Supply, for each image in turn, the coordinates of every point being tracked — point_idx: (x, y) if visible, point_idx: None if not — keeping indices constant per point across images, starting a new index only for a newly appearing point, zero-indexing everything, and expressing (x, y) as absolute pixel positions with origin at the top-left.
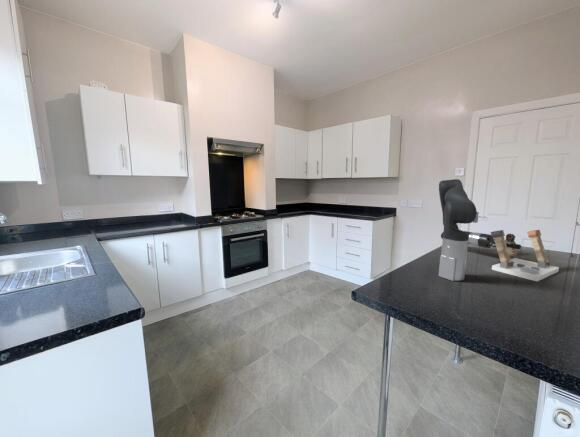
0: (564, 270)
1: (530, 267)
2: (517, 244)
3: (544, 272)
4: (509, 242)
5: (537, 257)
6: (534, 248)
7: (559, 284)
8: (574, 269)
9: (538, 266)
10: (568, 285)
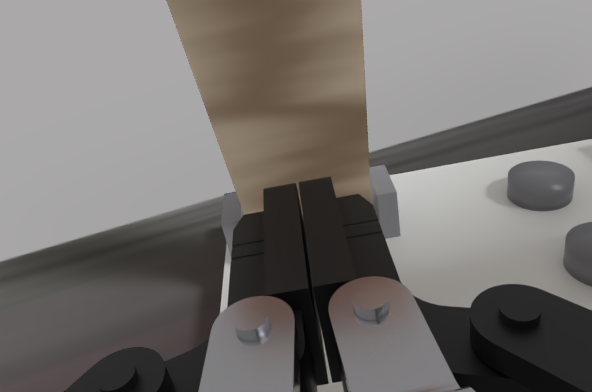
0: (158, 242)
1: (508, 232)
2: (302, 203)
3: (521, 158)
4: (244, 350)
5: (367, 162)
6: (362, 70)
7: (561, 128)
8: (62, 243)
9: (397, 226)
10: (517, 121)
